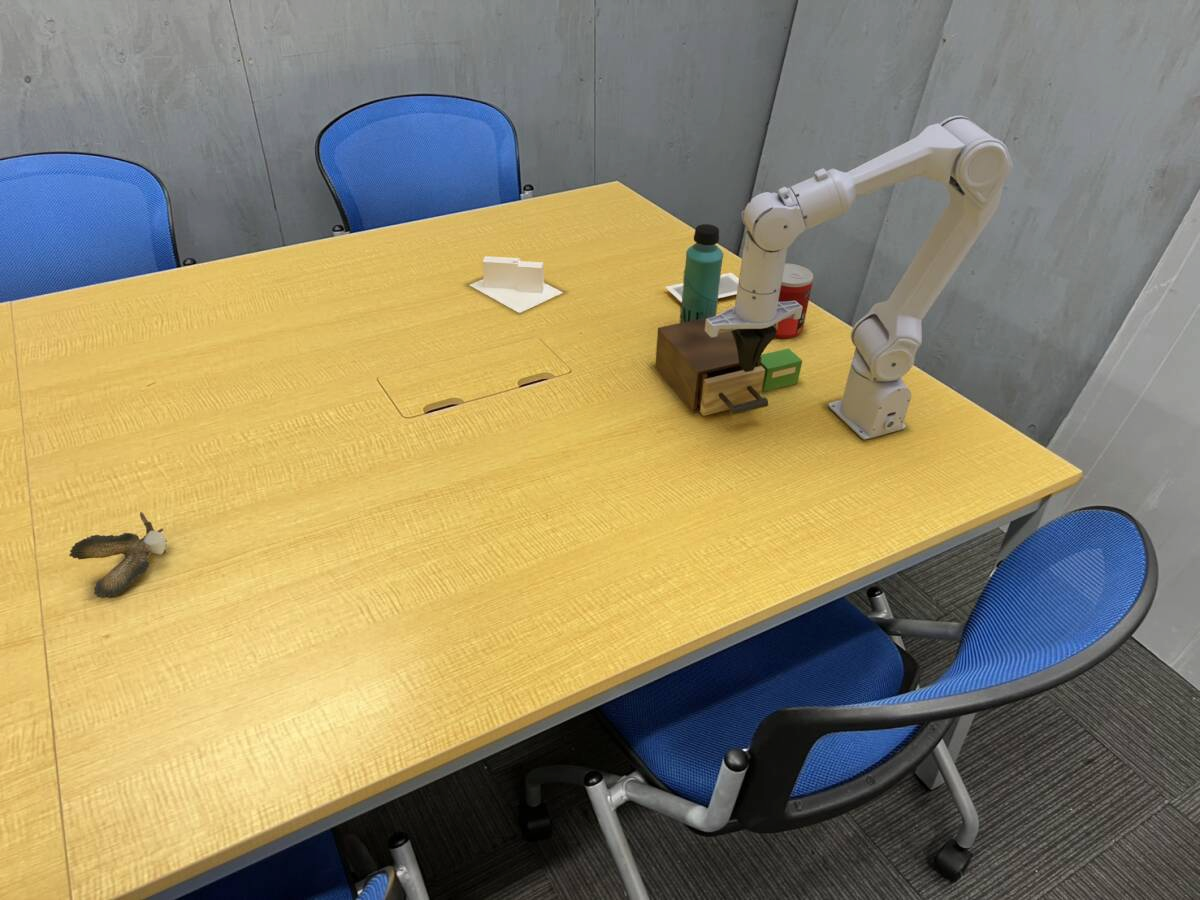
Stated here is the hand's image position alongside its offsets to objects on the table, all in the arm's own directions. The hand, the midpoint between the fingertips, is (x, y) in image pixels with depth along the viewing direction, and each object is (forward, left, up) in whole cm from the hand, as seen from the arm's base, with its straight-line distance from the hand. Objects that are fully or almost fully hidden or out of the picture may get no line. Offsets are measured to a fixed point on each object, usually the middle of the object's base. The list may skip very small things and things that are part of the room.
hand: (746, 367), depth 118 cm
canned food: (+21, -21, -10) cm, 31 cm away
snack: (+7, -11, -10) cm, 16 cm away
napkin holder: (+52, +19, -10) cm, 56 cm away
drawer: (+6, 0, -9) cm, 11 cm away
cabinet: (+11, 0, -10) cm, 15 cm away
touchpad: (+37, -15, -10) cm, 41 cm away
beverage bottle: (+25, -6, -10) cm, 28 cm away
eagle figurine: (+1, +85, -10) cm, 86 cm away
